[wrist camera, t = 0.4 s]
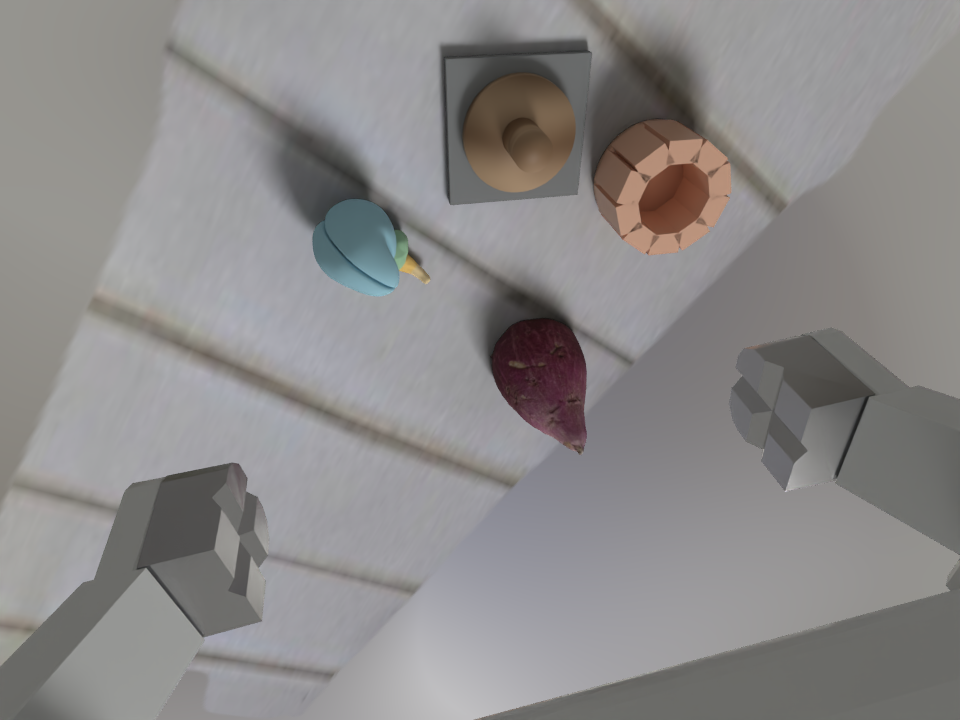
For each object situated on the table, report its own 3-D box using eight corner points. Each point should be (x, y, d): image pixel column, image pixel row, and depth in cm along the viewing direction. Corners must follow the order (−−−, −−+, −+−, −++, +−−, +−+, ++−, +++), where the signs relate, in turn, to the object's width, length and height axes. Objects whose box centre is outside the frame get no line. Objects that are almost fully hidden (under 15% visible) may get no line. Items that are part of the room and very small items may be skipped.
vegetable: (573, 348, 73) (643, 444, 64) (499, 391, 73) (559, 493, 64) (556, 295, 64) (635, 397, 55) (472, 343, 64) (537, 454, 55)
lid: (461, 75, 48) (473, 91, 44) (576, 69, 49) (598, 84, 45) (463, 191, 54) (474, 215, 50) (566, 183, 55) (585, 205, 51)
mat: (444, 57, 48) (445, 59, 47) (588, 50, 49) (592, 52, 49) (449, 201, 55) (450, 205, 54) (574, 191, 57) (577, 194, 56)
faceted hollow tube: (598, 122, 53) (624, 144, 49) (710, 115, 55) (746, 135, 50) (586, 231, 60) (608, 259, 55) (686, 221, 61) (716, 248, 57)
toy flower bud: (418, 348, 54) (299, 286, 47) (402, 294, 61) (296, 232, 54) (470, 292, 52) (353, 218, 45) (447, 242, 58) (342, 170, 51)
